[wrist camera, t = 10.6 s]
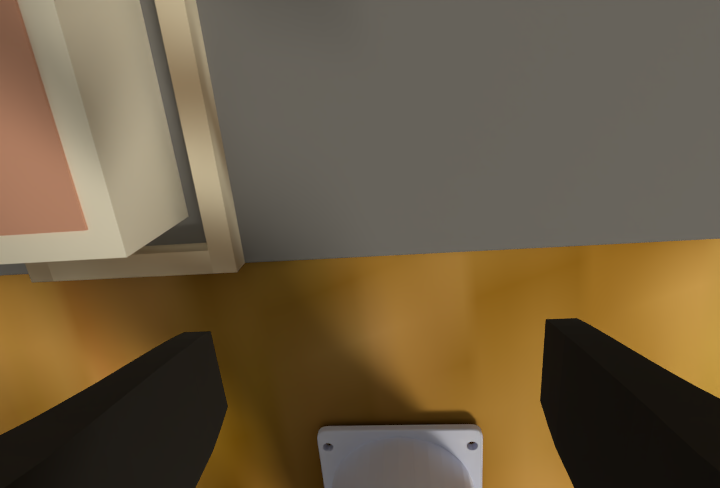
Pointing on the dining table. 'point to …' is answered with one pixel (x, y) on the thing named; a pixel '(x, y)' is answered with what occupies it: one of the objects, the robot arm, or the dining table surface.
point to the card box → (81, 133)
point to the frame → (206, 168)
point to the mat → (455, 124)
